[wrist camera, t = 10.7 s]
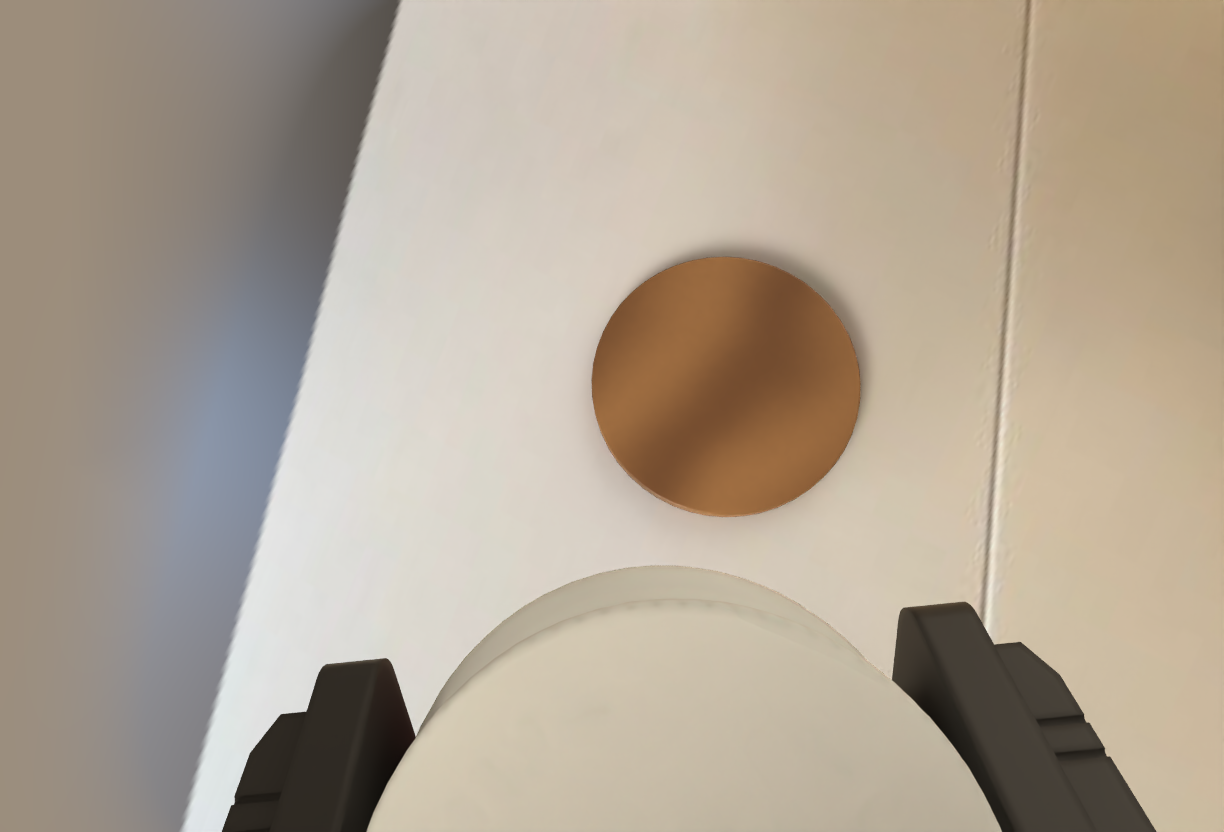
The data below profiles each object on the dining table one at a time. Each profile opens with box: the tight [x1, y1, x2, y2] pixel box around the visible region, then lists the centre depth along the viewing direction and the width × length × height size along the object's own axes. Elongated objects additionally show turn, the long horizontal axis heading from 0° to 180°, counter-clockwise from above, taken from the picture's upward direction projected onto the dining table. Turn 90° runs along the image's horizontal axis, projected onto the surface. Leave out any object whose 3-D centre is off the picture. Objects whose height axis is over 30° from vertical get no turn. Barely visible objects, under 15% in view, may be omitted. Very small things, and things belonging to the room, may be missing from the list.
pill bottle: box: [367, 566, 1002, 832], centre depth 12 cm, size 6×6×11 cm
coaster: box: [592, 257, 861, 517], centre depth 33 cm, size 10×10×1 cm
